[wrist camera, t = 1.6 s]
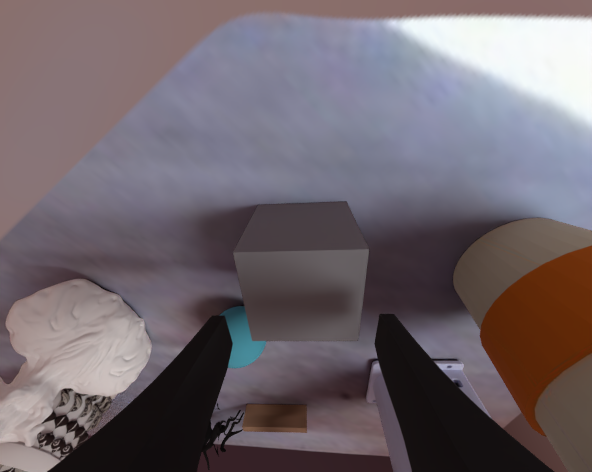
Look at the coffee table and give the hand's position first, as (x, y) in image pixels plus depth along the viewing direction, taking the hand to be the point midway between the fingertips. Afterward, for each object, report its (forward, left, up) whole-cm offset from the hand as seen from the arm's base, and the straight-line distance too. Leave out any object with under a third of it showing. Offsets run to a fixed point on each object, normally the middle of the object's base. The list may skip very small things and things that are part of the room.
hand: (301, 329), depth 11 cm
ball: (+6, +8, -6) cm, 12 cm away
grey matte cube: (0, 0, -8) cm, 8 cm away
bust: (+20, +8, -9) cm, 23 cm away
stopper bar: (+4, +26, -8) cm, 27 cm away
